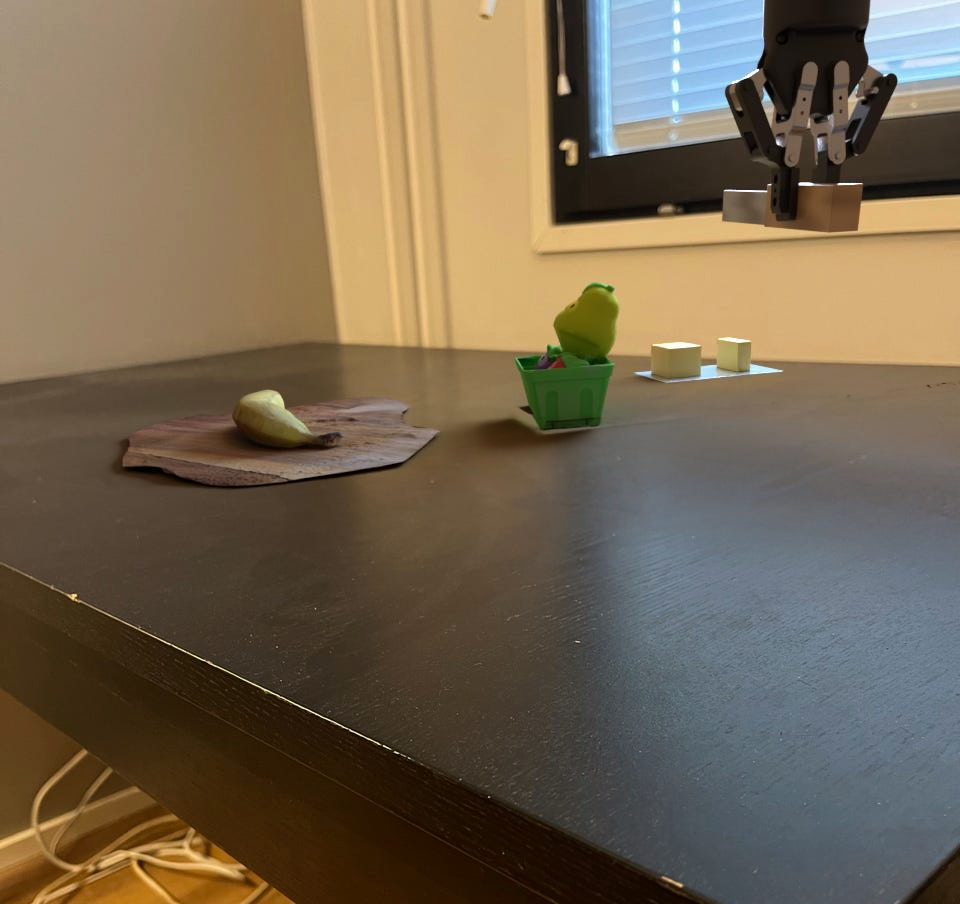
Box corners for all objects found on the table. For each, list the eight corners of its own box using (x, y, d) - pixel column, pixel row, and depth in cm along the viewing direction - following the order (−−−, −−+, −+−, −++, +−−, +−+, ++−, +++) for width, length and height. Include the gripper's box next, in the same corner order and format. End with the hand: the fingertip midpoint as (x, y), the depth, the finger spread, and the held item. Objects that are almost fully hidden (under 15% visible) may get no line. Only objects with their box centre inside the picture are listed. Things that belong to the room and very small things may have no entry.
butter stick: (681, 370, 106) (681, 341, 105) (701, 375, 102) (701, 345, 101) (650, 373, 106) (650, 344, 104) (669, 378, 101) (669, 348, 100)
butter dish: (742, 369, 110) (742, 362, 110) (783, 378, 102) (783, 370, 101) (633, 380, 107) (632, 372, 107) (665, 390, 99) (665, 382, 99)
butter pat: (728, 365, 107) (729, 337, 106) (750, 370, 103) (751, 341, 102) (716, 367, 107) (716, 338, 106) (737, 372, 103) (738, 342, 101)
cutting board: (129, 427, 99) (122, 388, 97) (395, 399, 105) (392, 362, 104) (110, 504, 67) (98, 448, 66) (490, 457, 74) (487, 405, 72)
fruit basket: (515, 412, 92) (510, 285, 88) (609, 405, 93) (608, 278, 88) (525, 433, 82) (519, 290, 78) (631, 426, 82) (631, 283, 78)
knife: (858, 230, 73) (863, 183, 72) (828, 232, 73) (833, 185, 71) (735, 220, 91) (738, 182, 89) (711, 221, 90) (713, 183, 89)
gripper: (754, -53, 67) (744, 223, 73) (937, -55, 69) (911, 213, 76) (707, -24, 74) (701, 226, 80) (874, -26, 76) (855, 216, 83)
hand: (803, 218), depth 78 cm, fingers closed on knife, 2 cm apart
